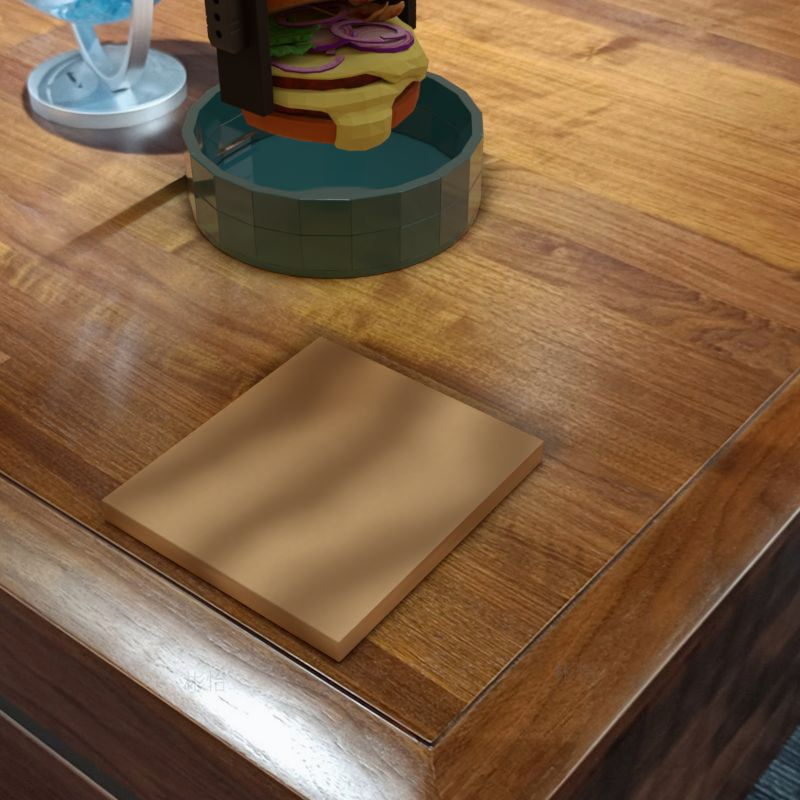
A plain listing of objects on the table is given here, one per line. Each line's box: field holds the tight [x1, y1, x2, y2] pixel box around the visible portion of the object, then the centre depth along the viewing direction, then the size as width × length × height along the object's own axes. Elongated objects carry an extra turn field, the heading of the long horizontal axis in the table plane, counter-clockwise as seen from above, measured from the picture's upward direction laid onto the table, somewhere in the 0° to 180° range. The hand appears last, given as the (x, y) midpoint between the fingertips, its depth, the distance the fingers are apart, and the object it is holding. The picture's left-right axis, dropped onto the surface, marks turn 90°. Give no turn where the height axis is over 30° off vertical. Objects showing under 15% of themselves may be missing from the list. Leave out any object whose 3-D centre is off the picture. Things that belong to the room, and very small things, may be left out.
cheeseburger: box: [241, 0, 430, 151], centre depth 67 cm, size 10×11×10 cm
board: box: [101, 335, 545, 663], centre depth 73 cm, size 16×18×2 cm
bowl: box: [181, 70, 485, 279], centre depth 95 cm, size 21×21×6 cm
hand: (323, 63), depth 68 cm, fingers closed on cheeseburger, 11 cm apart
